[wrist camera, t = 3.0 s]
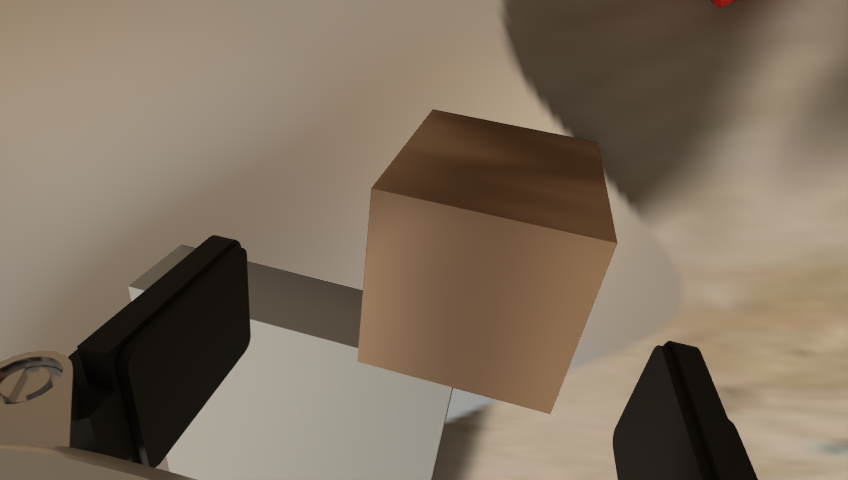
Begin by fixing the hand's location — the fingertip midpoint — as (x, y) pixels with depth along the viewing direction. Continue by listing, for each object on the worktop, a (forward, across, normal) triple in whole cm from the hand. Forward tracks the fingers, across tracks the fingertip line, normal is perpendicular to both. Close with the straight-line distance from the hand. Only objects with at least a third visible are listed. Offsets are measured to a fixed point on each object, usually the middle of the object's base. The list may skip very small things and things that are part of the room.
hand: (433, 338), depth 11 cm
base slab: (+7, +5, +10) cm, 13 cm away
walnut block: (+6, -1, -1) cm, 6 cm away
